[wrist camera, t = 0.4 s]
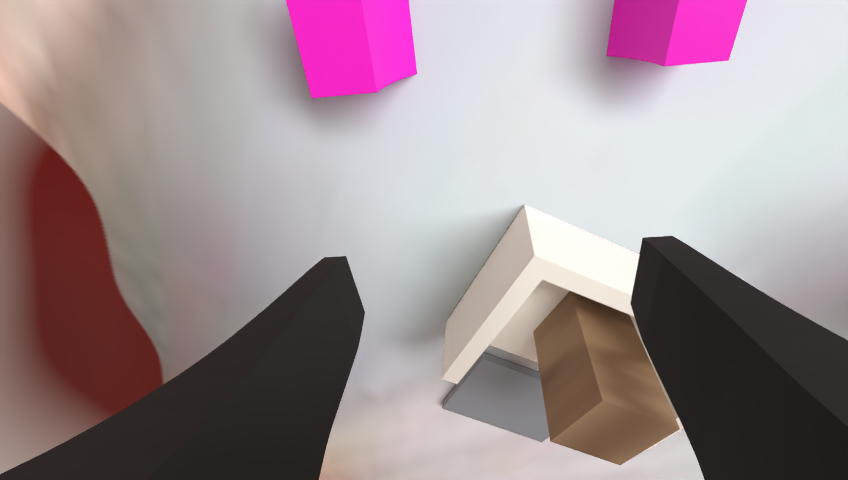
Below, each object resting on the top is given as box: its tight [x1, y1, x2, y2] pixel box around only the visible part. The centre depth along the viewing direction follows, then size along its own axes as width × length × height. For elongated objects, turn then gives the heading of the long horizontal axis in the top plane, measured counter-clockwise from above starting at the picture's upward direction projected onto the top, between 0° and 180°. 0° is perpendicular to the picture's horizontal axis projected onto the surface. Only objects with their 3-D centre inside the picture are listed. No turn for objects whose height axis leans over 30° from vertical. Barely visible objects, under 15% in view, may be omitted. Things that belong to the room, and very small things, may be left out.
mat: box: [442, 352, 549, 442], centre depth 29 cm, size 9×7×1 cm
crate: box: [441, 205, 684, 451], centre depth 22 cm, size 14×10×4 cm
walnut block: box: [533, 291, 680, 465], centre depth 21 cm, size 4×4×7 cm
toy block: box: [286, 0, 747, 98], centre depth 17 cm, size 15×6×8 cm, turn 96°
